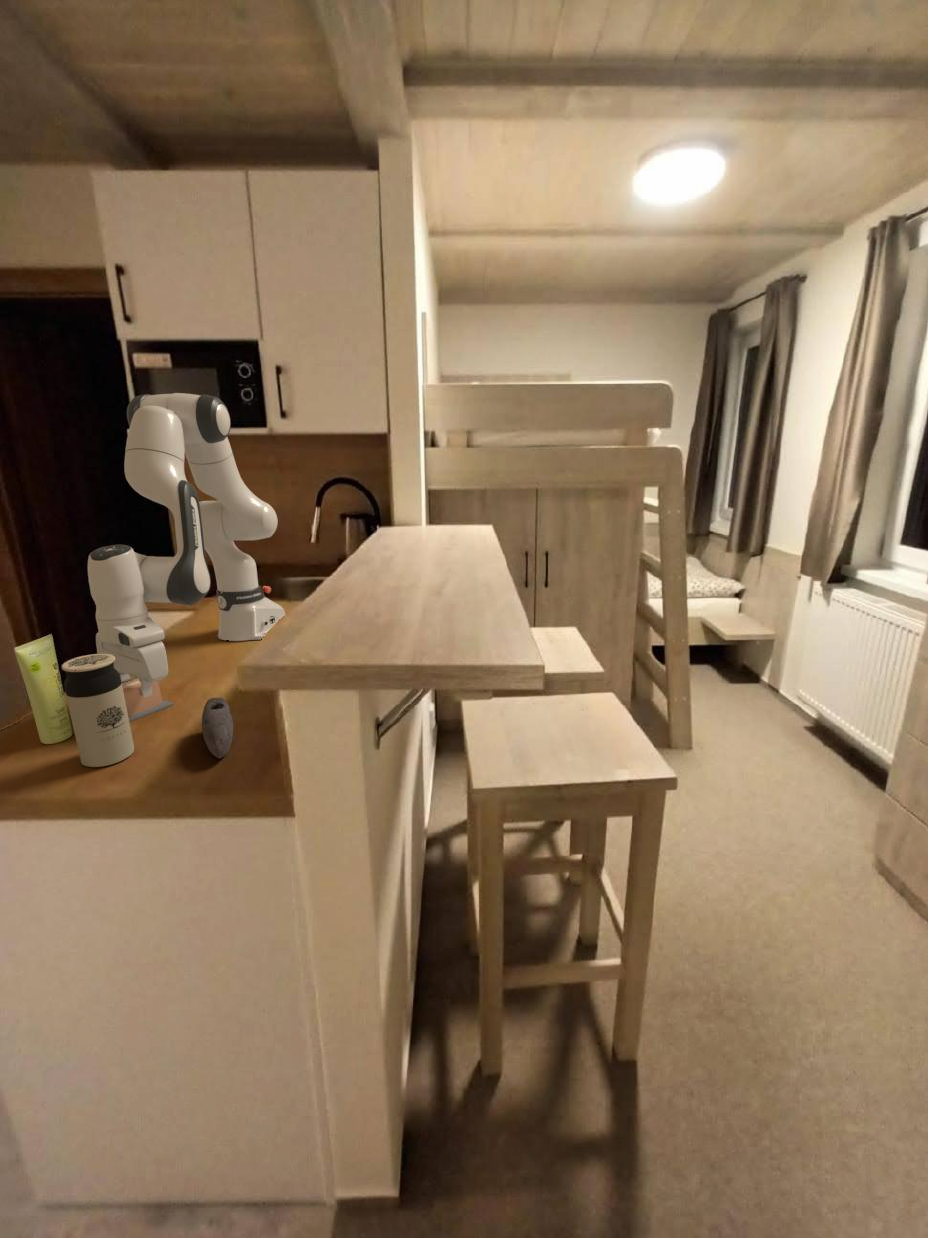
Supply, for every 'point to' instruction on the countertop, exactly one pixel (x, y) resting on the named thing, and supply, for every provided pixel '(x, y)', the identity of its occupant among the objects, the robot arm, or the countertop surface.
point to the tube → (45, 689)
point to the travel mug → (98, 710)
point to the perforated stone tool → (217, 726)
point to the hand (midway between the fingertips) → (136, 691)
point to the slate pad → (151, 710)
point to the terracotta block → (140, 697)
